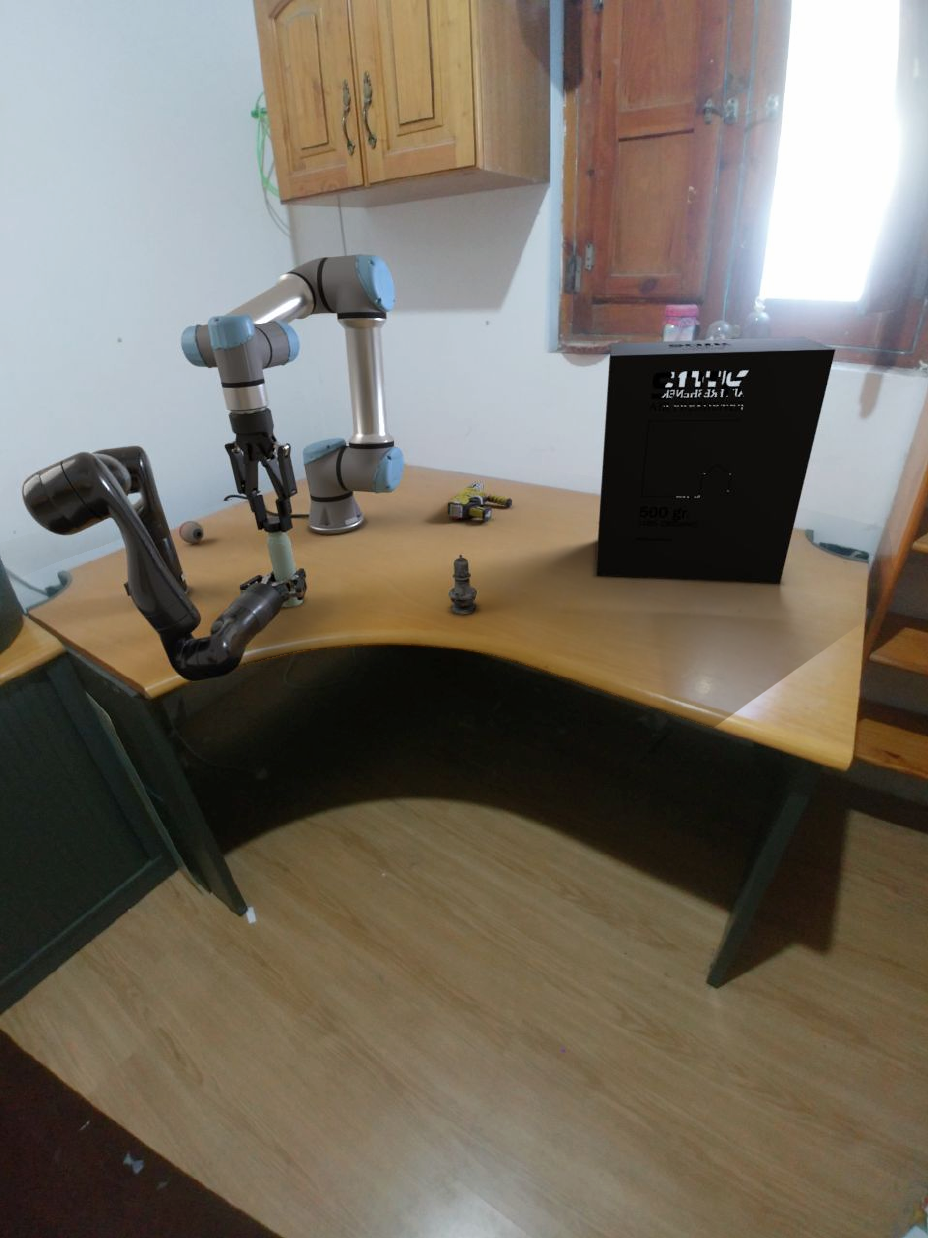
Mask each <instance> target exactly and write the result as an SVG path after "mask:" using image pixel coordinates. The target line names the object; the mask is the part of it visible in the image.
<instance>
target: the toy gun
mask: <svg viewBox="0 0 928 1238" xmlns="http://www.w3.org/2000/svg"><path fill="white" fill-rule="evenodd" d="M487 502H488V503H493V504H496V505H500V506H504V507H506V508H510V507H511V506H512V505H513V499H512V498H509V497H504V496H500V495H499V496H498V495H494V494H492V493H490V494H489V495H488V496H487V495H486V492H485V483H484V482H483V481H480V482H479V481H477V480H474V482H473V483H471V484H470V485H468V486H467V487H465V488H464V489H462V491H460V492H459V493H458V494H456V496H454V497H453V498H452V499H451V500H449V501H448V502H447V505H446V514H447V516H448V517H451V518H452V519H455V520H458V519H459V518H460V519H467V518H471V517H475V518H479V519H482V522H484V523H485V522H487V521H488V520H491V518H492V512H493V507H492V506H485V505H484V504H486V503H487Z"/></svg>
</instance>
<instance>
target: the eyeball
mask: <svg viewBox="0 0 928 1238" xmlns="http://www.w3.org/2000/svg"><path fill="white" fill-rule="evenodd" d="M178 533H179V537H180V539H181V540H183V541H184V542H185V543H188V544H192V545H193V544H197V543H200V542H201V541H202V539H203V538H204V536H205V535H204V534H205V532H204V528H203V526H202V525H201V524H200V523H198V522H196V521H194V520H188V521H185V522H184V523H182V524H181V525H180V526H179V529H178Z"/></svg>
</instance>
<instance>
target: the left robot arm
mask: <svg viewBox="0 0 928 1238" xmlns="http://www.w3.org/2000/svg"><path fill="white" fill-rule="evenodd" d="M132 494H140V498H139V499H138V500H137V501H136V502H134V503H133V504H132V502H131V501H130V498H129V497H128V496H129V495H132ZM21 496H22V501H23V504H24V507H25V508H26V511H27V513H28V514H29V516H31V518H32V519H33V520H34V521H35V522H36V523H37V524H38V525H39V526H40V527H42V528H43V529H45V530H47V531H48V532H50V533H52V534H56V535H59V536H73V535H75V534H78V533H80V532H82V531H85V530H87V529H89V528H91V527H93V526H95V525H97V524H99V523H102V522H103V521H105V520H108V519H112V520H113V521H114V523H115V525H116V526H117V528H118V530H119V532H120V535H121V538H122V541H123V544H124V547H125V555H126V567H127V568H126V569H127V570H126V571H127V572H126V573H127V581H126V582H125V583H123V587H124V589H125V592H126V594H127V596H128V597H130V598H131V600H132V602H133V604H134V605H135V607H136V608H137V611H139V613H140V614H141V615H142V616H143V618H144V619H145V620H146V621H147V623H148V624H149V625H150V626H151V627H152V629H153V630H154V631H155V632H156V633H157V635H158V637H159V639H160V642H161V646H162V647H163V649H164V653H165V654H166V657H167V659H168V661H169V665H170V666H171V668H172V669H173V671H174V672H175V673H176V674H177V675H179V677H180V678H183V679H184V680H187V681H189V682H199V681H203V680H209V679H214V678H220V677H224V676H227V675H229V674H231V673H232V672H233V671H235V670H236V669H237V668H238V667H239V665H240V664H241V662H242V659H243V657H244V654H245V652H246V650H247V647H248V645H249V644H250V643H251V641H253V639H254V638H256V636H257V635H258V634H259V633H261V632H262V631H263V630H264V629H265V628H266V627H267V626H268V625H269V624H270V623H271V622H272V620H274V618H275V617H277V615H278V614H279V613H280V612H281V610H282V608H283V606H282V605H283V603H284V602H285V601H287V600H289V599H290V597H297V599H298V600H304V599H305V596H306V592H307V589H308V585H307V580H306V579H307V574H306V570H305V568H304V567H303V568H302V567H300V568H298V570H296V573H295V574H294V575H293V576H292V577H290V578H284V579H282V580H281V581H279V582H276V581H275V576H274V572H273V570H272V571H271V572H269V573H265V575H264V576H263V574H257V575H255V576H254V577H252V578H250V579H248V580H246V581H244V582H243V583H242V584H239V591H240V594H239V596H237V597H236V598H235V599H234V600H233V601H232V602H231V603H230V605H229V606H228V607H227V609H225V610H224V611H223V612H222V613H221V614H220V615H219V616H218V617H217V618H215V620H214V621H213V622H212V624H211V627H210V629H209V633H210V635H208V636H204V637H198V638H196V637H195V636H194V635H193V632H194V631H196V629H197V628H198V627H199V626H200V624H201V621H202V616H201V613H200V612H199V611H200V610H199V609H198V608H197V606H196V605H195V603H193V601H192V600H191V598H190V597H189V596H188V594H189V593H190V589H189V586H188V583H187V581H186V573H185V571H183V567H182V565H181V562H180V558H179V554H178V552H177V549H176V546H175V542H174V538H173V536H172V532H171V529H170V527H169V523H168V520H167V517H166V514H165V511H164V509H163V505H162V502H161V498H160V495H159V492H158V488H157V484H156V480H155V475H154V472H153V469H152V464H151V460H150V458H149V456H148V454H147V452H146V451H145V448H143V447H142V446H140V445H127V446H118V447H110V448H102V449H98V450H95V451H93V452H89V451H79V452H77V453H74V454H72V455H70V456H68V457H66V458H64V459H62V460H59V461H58V462H55V463H53V464H50V465H48V466H47V467H44V468H42V469H40V470H37V471H36V472H34V473H32V474H31V475H29V476H27V478H26V479H25V480H24V481H23V483H22V487H21ZM292 582H294V585H293V586H292Z"/></svg>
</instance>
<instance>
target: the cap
mask: <svg viewBox="0 0 928 1238" xmlns="http://www.w3.org/2000/svg"><path fill="white" fill-rule="evenodd" d="M263 527H264V529H263V531H264V532H266V533H267V534H268V533H275V532H280V531H282V530H281V525H280V521H279V516H269V517H268V518H266V519H264V520H263Z"/></svg>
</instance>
